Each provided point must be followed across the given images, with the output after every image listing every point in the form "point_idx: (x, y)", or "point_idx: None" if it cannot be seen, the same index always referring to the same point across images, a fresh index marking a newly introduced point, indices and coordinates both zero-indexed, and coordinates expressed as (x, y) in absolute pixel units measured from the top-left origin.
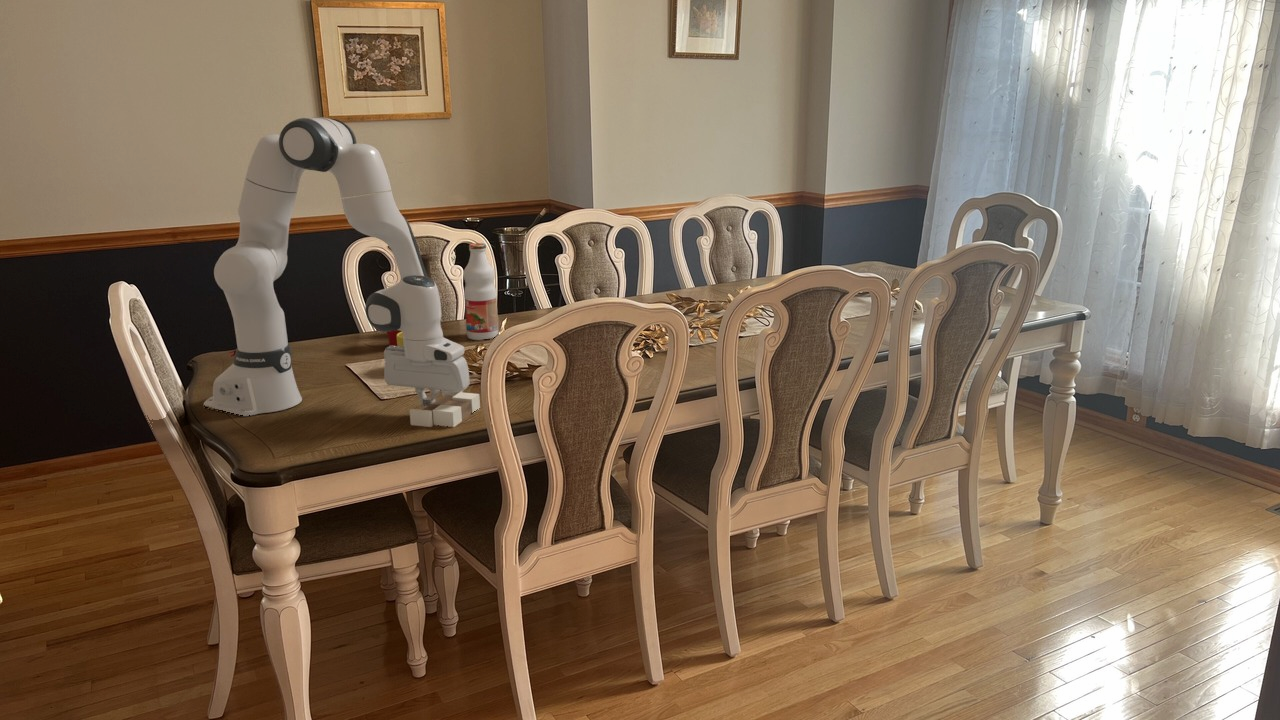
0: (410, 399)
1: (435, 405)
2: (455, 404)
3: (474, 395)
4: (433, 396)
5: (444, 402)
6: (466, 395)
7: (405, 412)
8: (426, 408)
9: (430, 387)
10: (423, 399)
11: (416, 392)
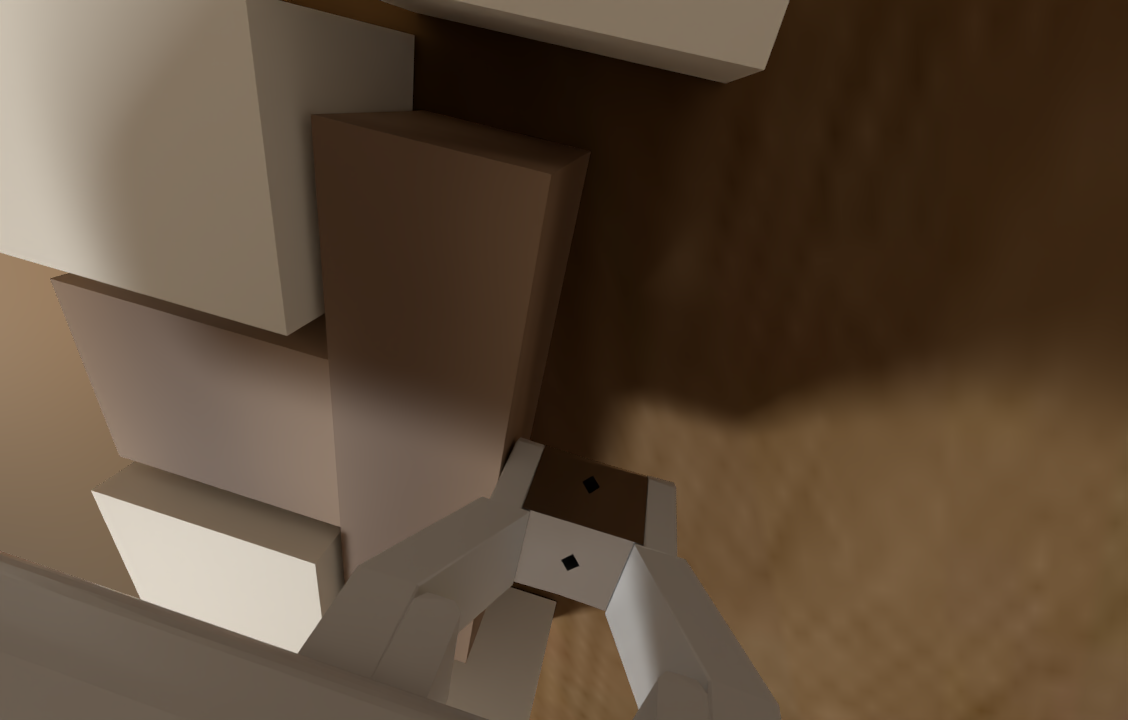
0: (847, 716)
1: (419, 380)
2: (202, 400)
3: (150, 576)
4: (426, 534)
5: (363, 473)
6: (213, 586)
7: (877, 474)
8: (498, 248)
9: (306, 714)
10: (627, 538)
11: (754, 685)
